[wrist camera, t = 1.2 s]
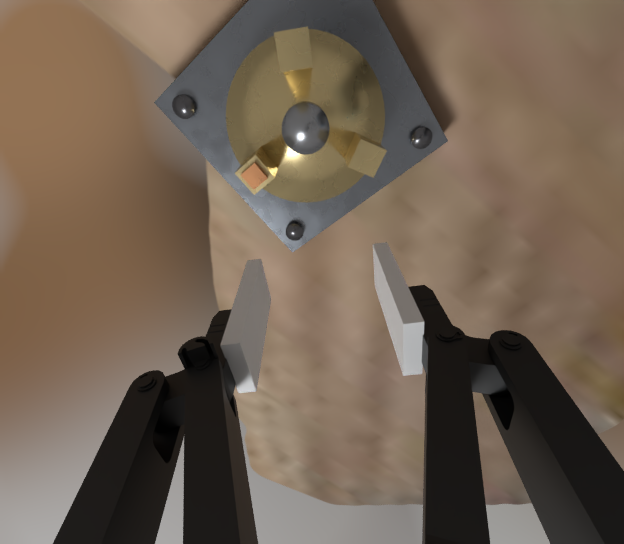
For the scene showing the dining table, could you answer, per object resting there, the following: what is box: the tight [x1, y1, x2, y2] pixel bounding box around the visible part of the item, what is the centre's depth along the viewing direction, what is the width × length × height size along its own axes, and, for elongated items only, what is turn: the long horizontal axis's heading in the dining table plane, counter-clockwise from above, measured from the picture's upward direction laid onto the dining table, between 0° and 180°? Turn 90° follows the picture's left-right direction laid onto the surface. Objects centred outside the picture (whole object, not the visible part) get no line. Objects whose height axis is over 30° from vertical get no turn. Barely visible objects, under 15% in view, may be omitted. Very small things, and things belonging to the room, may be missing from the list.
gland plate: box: [154, 0, 448, 252], centre depth 32 cm, size 20×20×3 cm
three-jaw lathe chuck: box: [226, 27, 387, 203], centre depth 29 cm, size 14×14×6 cm
